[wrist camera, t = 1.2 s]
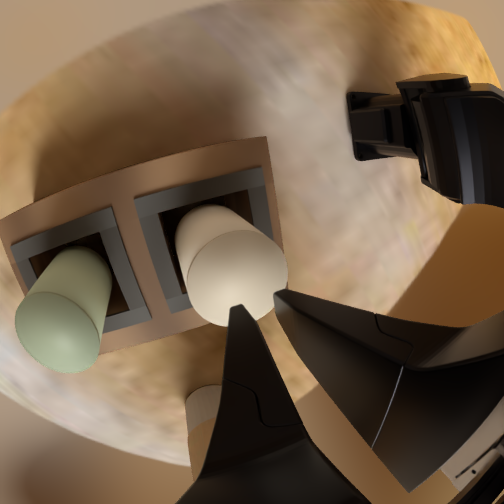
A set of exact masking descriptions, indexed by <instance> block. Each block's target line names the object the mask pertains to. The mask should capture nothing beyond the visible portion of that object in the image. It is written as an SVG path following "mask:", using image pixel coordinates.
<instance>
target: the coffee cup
mask: <svg viewBox="0 0 504 504" xmlns="http://www.w3.org/2000/svg"><path fill="white" fill-rule="evenodd" d="M220 394H221V386H220V385H209V386H204V387H201V388H199V389H197V390H195V391H194V392H193V393H192V394H191V395H190V396H189V397H188V398H187V400H186V403H185V410H186V420H187V429H188V448H189V455H190V462H191V469H192V475H193V481H195V480H196V478H197V477H198V475H199V473H200V471H201V468H202V466H203V462H204V459H205V456H206V452H207V449H208V445H209V442H210V438H211V434H212V431H213V427H214V424H215V420H216V415H217V411H218V407H219V401H220Z"/></svg>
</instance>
